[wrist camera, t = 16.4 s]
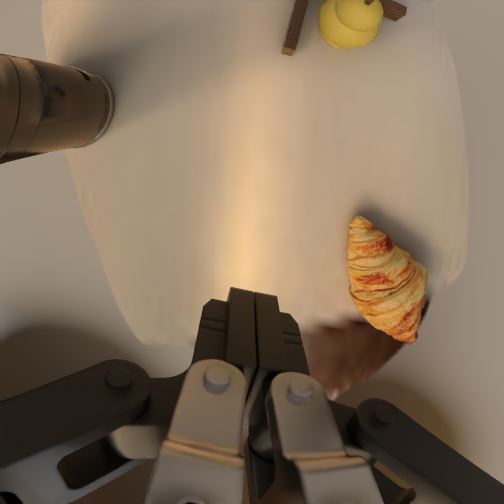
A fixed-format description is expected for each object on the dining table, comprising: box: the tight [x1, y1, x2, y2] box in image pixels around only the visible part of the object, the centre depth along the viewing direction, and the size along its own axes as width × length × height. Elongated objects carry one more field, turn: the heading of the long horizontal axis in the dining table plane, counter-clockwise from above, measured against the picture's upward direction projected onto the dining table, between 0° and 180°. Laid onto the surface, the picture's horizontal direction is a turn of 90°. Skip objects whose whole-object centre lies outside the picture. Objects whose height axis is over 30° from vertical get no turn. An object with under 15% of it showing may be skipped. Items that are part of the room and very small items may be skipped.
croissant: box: [346, 216, 427, 345], centre depth 37 cm, size 21×10×8 cm, turn 34°
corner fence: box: [281, 0, 407, 56], centre depth 27 cm, size 12×11×3 cm
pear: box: [318, 0, 383, 49], centre depth 23 cm, size 6×6×11 cm
